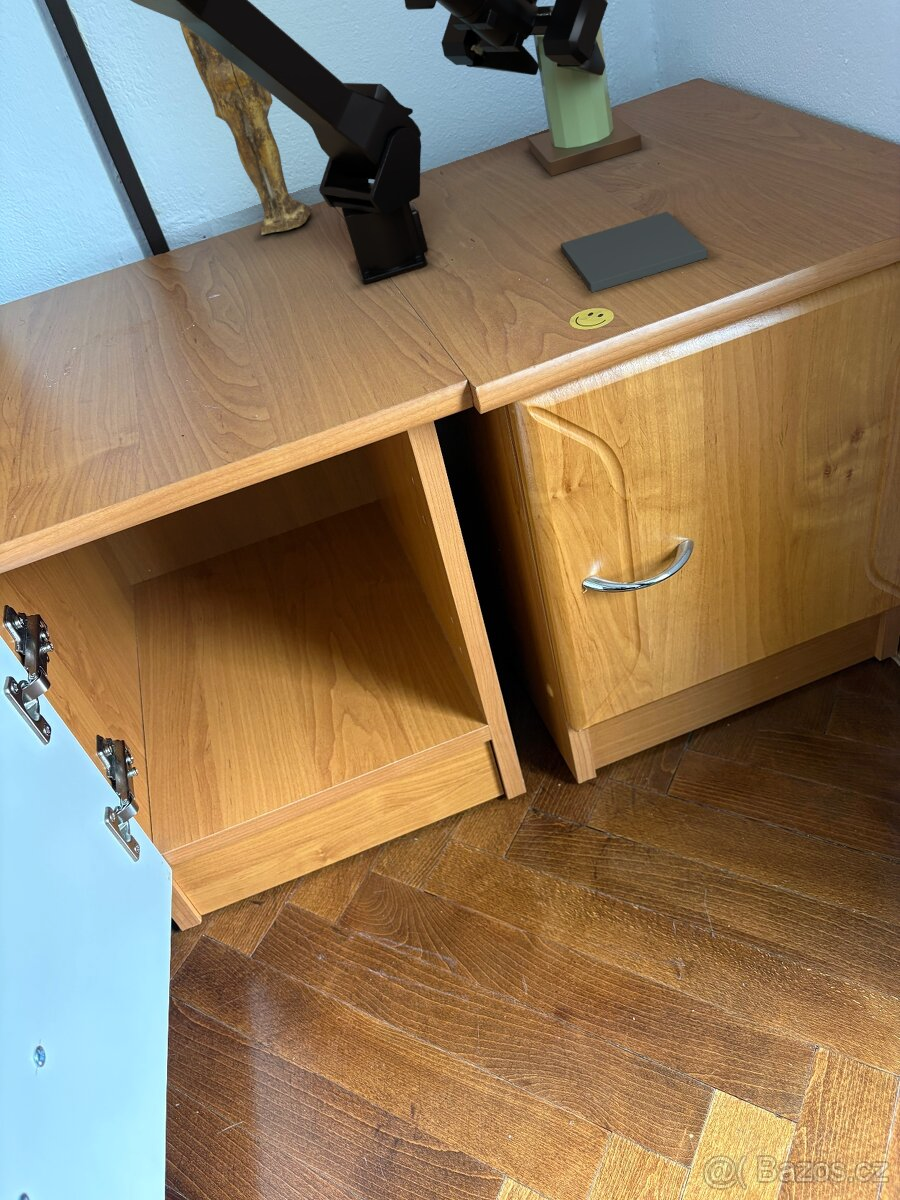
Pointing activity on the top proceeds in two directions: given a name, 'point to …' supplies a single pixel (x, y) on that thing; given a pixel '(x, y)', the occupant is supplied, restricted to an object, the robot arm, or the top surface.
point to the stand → (585, 149)
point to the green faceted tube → (574, 101)
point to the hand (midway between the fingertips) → (568, 70)
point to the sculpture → (248, 131)
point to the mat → (632, 251)
